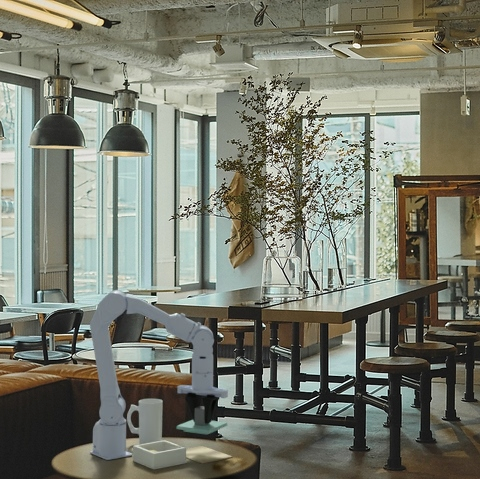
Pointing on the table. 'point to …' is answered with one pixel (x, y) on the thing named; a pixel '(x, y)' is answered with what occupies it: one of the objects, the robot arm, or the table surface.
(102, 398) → the robot arm
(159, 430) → the mug
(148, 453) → the storage box
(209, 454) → the cork mat
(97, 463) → the table surface
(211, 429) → the lid
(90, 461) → the table surface
